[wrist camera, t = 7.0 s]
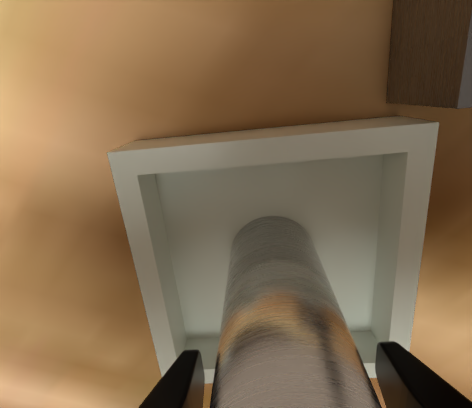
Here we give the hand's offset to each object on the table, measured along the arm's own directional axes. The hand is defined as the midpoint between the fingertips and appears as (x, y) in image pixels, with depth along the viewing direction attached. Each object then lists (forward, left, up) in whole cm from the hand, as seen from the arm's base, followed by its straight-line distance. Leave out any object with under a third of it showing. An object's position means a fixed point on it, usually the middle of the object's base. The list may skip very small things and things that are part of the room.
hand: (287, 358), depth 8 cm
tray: (0, 0, -6) cm, 6 cm away
